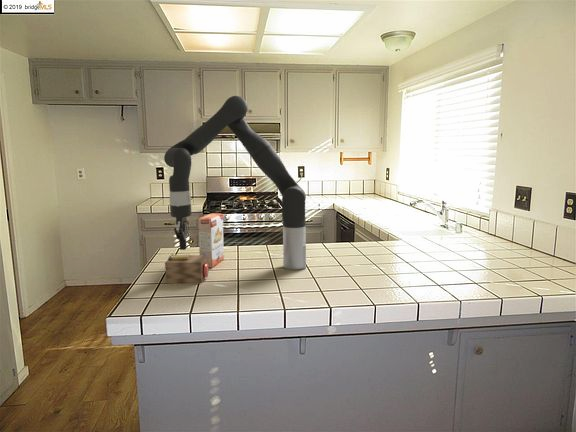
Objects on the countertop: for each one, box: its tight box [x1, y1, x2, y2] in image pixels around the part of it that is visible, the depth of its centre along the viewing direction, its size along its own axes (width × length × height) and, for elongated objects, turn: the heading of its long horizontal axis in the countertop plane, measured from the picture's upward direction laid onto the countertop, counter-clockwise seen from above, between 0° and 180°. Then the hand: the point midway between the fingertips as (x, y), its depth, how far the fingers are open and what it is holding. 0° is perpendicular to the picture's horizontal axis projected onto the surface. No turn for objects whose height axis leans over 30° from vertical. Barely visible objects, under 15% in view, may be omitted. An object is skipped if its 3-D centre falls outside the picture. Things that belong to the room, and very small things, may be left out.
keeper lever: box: [167, 253, 190, 260], centre depth 153 cm, size 7×4×1 cm, turn 90°
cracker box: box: [197, 212, 225, 269], centre depth 173 cm, size 14×6×21 cm, turn 168°
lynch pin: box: [203, 264, 210, 278], centre depth 154 cm, size 15×5×5 cm, turn 90°
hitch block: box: [164, 254, 206, 285], centre depth 154 cm, size 13×10×8 cm
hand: (183, 249), depth 152 cm, fingers closed
